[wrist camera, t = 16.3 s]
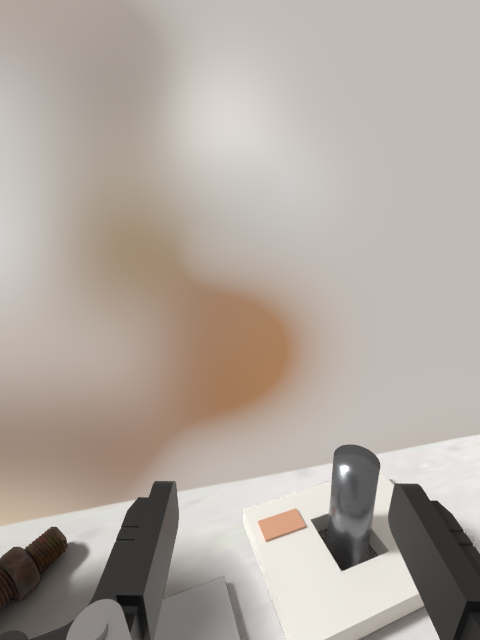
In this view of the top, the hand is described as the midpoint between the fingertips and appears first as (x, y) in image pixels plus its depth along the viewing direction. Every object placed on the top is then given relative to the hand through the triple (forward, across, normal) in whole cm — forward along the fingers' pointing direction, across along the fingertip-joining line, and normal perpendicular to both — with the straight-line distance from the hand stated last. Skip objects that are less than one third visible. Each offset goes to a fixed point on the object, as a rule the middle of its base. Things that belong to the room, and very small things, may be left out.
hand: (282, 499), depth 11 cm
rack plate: (+16, -10, +27) cm, 33 cm away
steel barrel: (+16, -10, +27) cm, 33 cm away
